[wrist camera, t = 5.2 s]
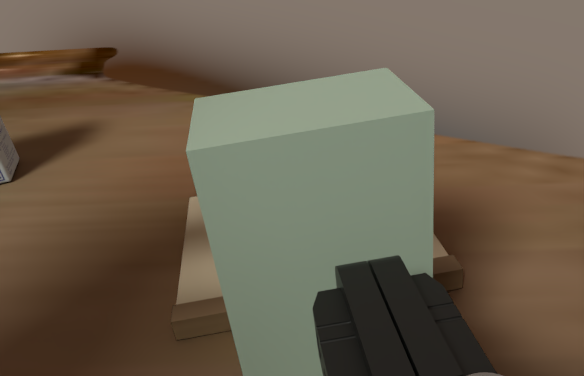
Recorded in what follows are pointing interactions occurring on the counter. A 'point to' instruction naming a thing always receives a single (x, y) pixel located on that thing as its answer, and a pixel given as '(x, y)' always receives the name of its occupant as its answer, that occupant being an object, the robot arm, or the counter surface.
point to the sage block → (308, 200)
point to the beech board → (207, 292)
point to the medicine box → (7, 155)
